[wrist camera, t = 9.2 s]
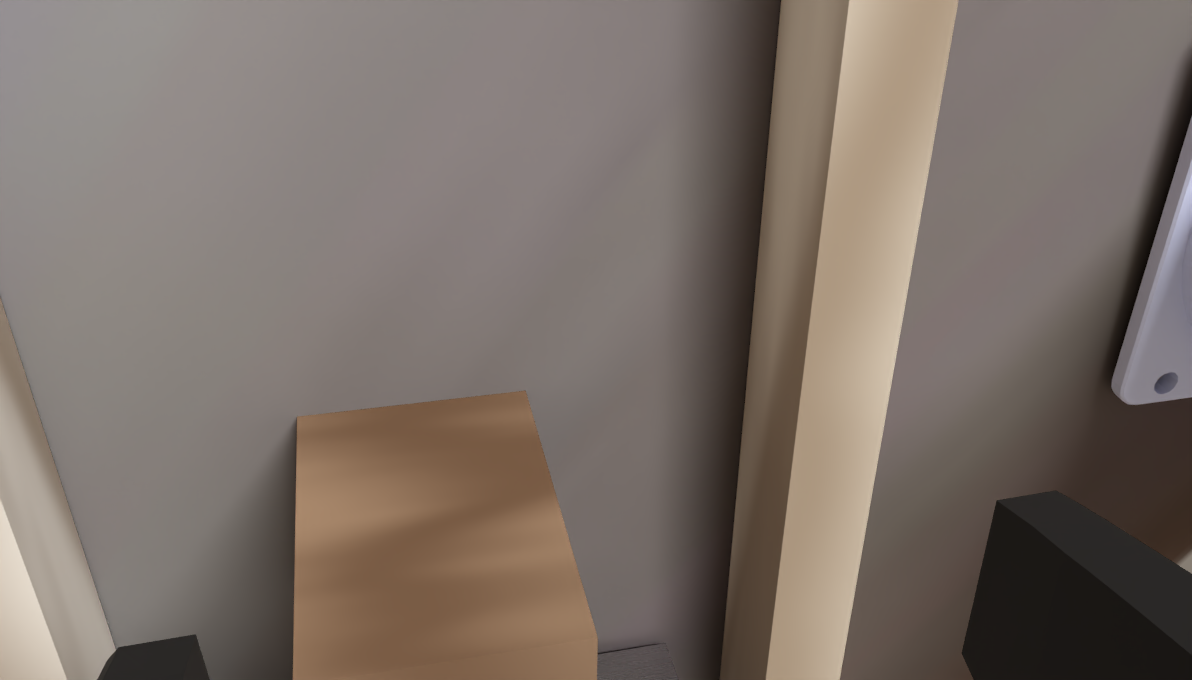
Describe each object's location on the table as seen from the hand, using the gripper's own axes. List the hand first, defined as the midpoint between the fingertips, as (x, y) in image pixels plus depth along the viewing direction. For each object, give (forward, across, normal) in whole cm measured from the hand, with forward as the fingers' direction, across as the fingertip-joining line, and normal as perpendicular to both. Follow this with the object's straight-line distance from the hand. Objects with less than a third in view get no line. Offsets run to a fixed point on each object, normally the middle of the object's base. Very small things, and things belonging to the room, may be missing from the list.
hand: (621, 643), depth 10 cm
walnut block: (+9, +2, +6) cm, 11 cm away
